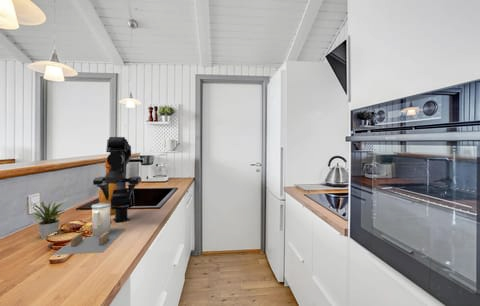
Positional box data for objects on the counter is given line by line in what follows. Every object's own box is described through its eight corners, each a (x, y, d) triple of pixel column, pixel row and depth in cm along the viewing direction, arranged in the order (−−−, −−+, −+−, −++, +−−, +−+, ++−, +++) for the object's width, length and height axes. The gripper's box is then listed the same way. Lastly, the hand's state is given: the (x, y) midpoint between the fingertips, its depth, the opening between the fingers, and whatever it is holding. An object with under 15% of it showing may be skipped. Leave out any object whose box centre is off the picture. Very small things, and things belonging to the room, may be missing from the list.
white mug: (96, 231, 104) (96, 203, 103) (113, 230, 105) (113, 202, 104) (86, 239, 95) (85, 208, 95) (104, 238, 96) (104, 207, 96)
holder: (87, 232, 105) (87, 223, 105) (126, 231, 107) (126, 221, 107) (51, 258, 81) (51, 245, 81) (103, 255, 83) (102, 243, 83)
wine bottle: (114, 210, 142) (113, 158, 141) (123, 212, 136) (122, 158, 135) (95, 214, 134) (94, 159, 133) (104, 217, 128) (103, 159, 127)
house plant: (13, 246, 91) (11, 202, 90) (33, 233, 104) (32, 195, 104) (58, 242, 95) (57, 200, 94) (72, 230, 108) (71, 193, 108)
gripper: (86, 166, 101) (87, 204, 102) (133, 166, 103) (134, 203, 104) (98, 164, 112) (99, 198, 113) (141, 164, 114) (141, 197, 115)
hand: (118, 199), depth 111 cm, fingers open, 9 cm apart
